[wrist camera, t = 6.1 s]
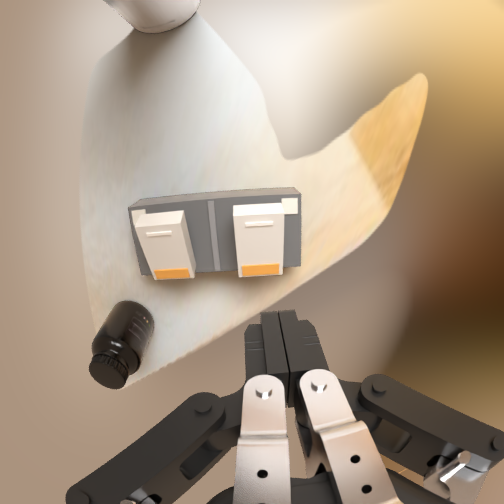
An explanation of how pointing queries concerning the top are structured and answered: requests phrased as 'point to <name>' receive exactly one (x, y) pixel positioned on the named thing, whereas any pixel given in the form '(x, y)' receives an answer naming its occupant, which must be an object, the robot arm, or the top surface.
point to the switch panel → (221, 224)
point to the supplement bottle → (121, 344)
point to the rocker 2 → (259, 239)
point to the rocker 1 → (166, 245)
